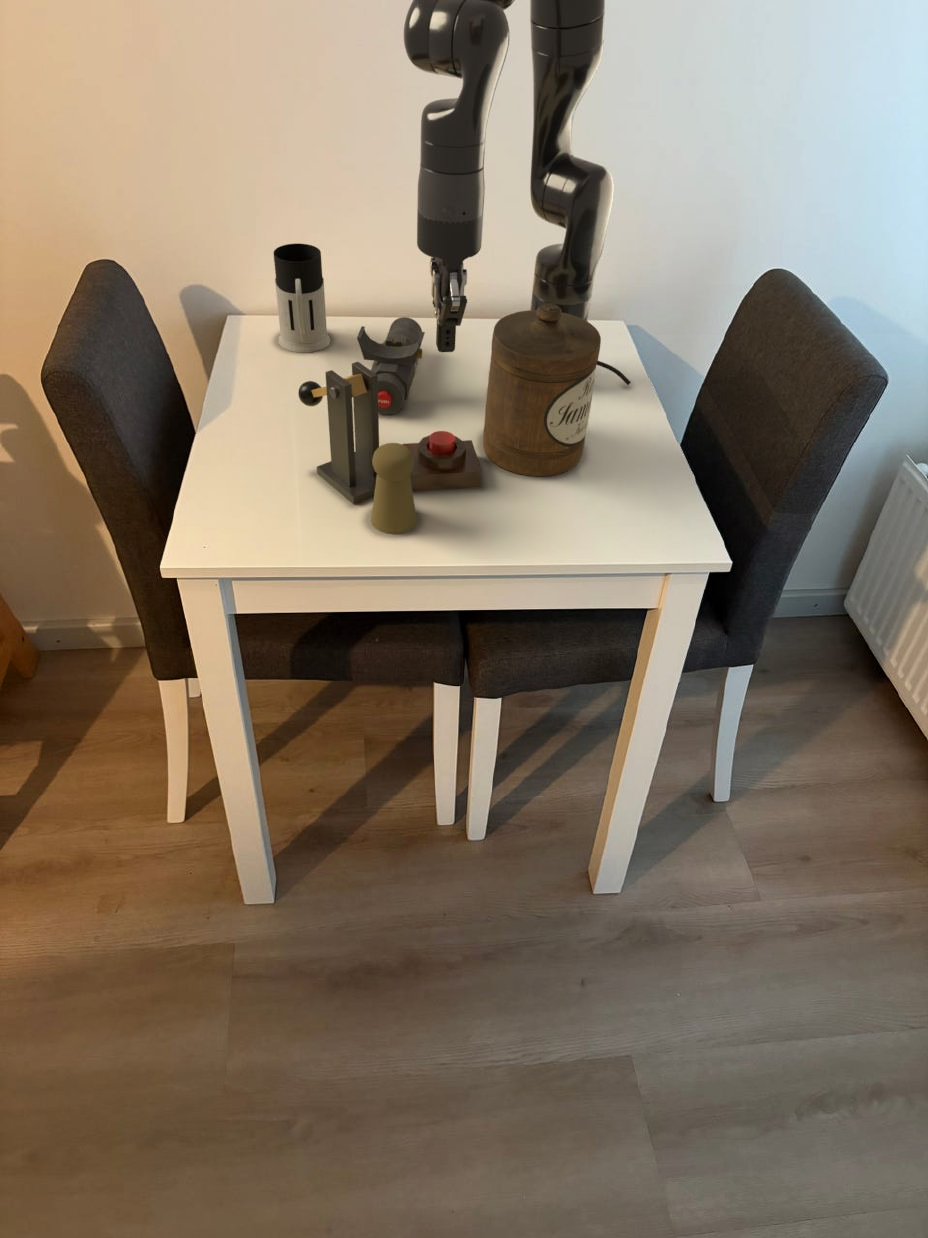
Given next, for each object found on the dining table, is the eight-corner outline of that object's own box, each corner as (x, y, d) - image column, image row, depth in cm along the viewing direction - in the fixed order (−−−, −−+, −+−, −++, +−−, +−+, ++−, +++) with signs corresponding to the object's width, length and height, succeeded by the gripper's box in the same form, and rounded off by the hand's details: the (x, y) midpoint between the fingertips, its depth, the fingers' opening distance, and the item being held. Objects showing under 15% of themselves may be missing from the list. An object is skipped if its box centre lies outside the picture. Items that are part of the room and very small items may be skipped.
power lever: (299, 410, 124) (290, 386, 123) (319, 402, 126) (311, 379, 125) (350, 402, 112) (341, 375, 111) (372, 394, 114) (364, 368, 113)
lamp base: (470, 455, 129) (472, 428, 126) (480, 487, 124) (482, 460, 121) (402, 459, 128) (402, 432, 125) (409, 492, 122) (409, 464, 119)
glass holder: (329, 328, 156) (324, 241, 146) (331, 367, 146) (326, 277, 136) (278, 328, 155) (269, 241, 145) (277, 368, 145) (267, 278, 135)
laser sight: (434, 352, 151) (435, 295, 145) (415, 422, 135) (416, 361, 128) (377, 347, 152) (376, 290, 145) (352, 415, 136) (349, 355, 129)
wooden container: (571, 486, 125) (594, 339, 110) (470, 464, 128) (479, 318, 112) (591, 433, 135) (615, 292, 120) (497, 414, 138) (509, 274, 123)
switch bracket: (317, 473, 124) (308, 366, 113) (358, 457, 128) (354, 351, 116) (353, 505, 119) (348, 396, 108) (395, 487, 123) (395, 380, 112)
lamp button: (452, 440, 124) (453, 430, 123) (456, 455, 122) (457, 444, 121) (427, 442, 124) (427, 431, 123) (430, 456, 121) (431, 445, 120)
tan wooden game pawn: (370, 506, 119) (368, 436, 112) (415, 506, 120) (416, 435, 112) (371, 534, 115) (368, 463, 107) (417, 534, 115) (418, 462, 108)
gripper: (494, 228, 97) (484, 373, 109) (472, 186, 106) (465, 324, 118) (425, 229, 95) (423, 376, 107) (410, 187, 105) (409, 326, 117)
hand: (445, 349), depth 113 cm, fingers closed
